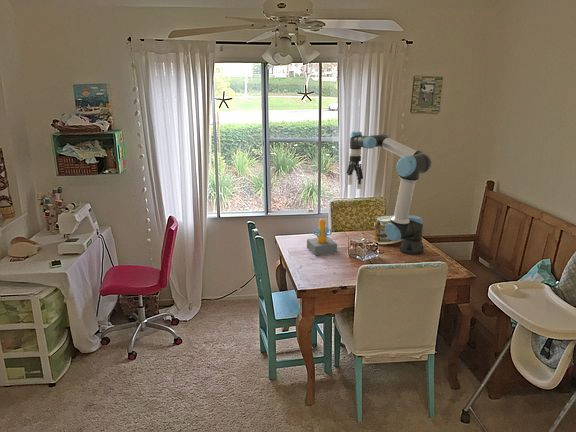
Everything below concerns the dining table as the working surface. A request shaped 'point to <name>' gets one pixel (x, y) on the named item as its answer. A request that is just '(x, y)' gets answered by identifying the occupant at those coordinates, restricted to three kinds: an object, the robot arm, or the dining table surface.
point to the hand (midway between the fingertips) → (354, 186)
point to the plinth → (321, 246)
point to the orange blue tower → (322, 232)
